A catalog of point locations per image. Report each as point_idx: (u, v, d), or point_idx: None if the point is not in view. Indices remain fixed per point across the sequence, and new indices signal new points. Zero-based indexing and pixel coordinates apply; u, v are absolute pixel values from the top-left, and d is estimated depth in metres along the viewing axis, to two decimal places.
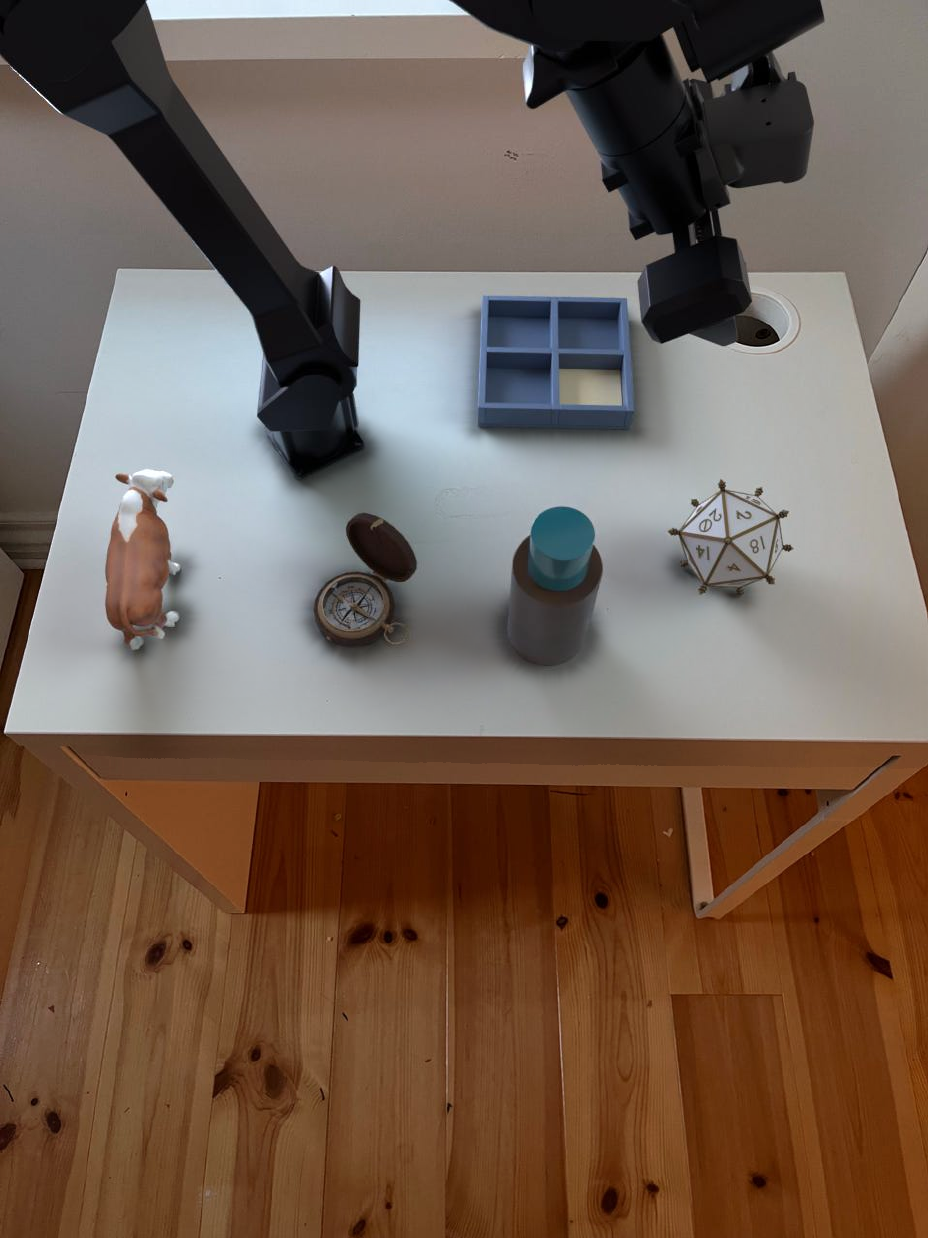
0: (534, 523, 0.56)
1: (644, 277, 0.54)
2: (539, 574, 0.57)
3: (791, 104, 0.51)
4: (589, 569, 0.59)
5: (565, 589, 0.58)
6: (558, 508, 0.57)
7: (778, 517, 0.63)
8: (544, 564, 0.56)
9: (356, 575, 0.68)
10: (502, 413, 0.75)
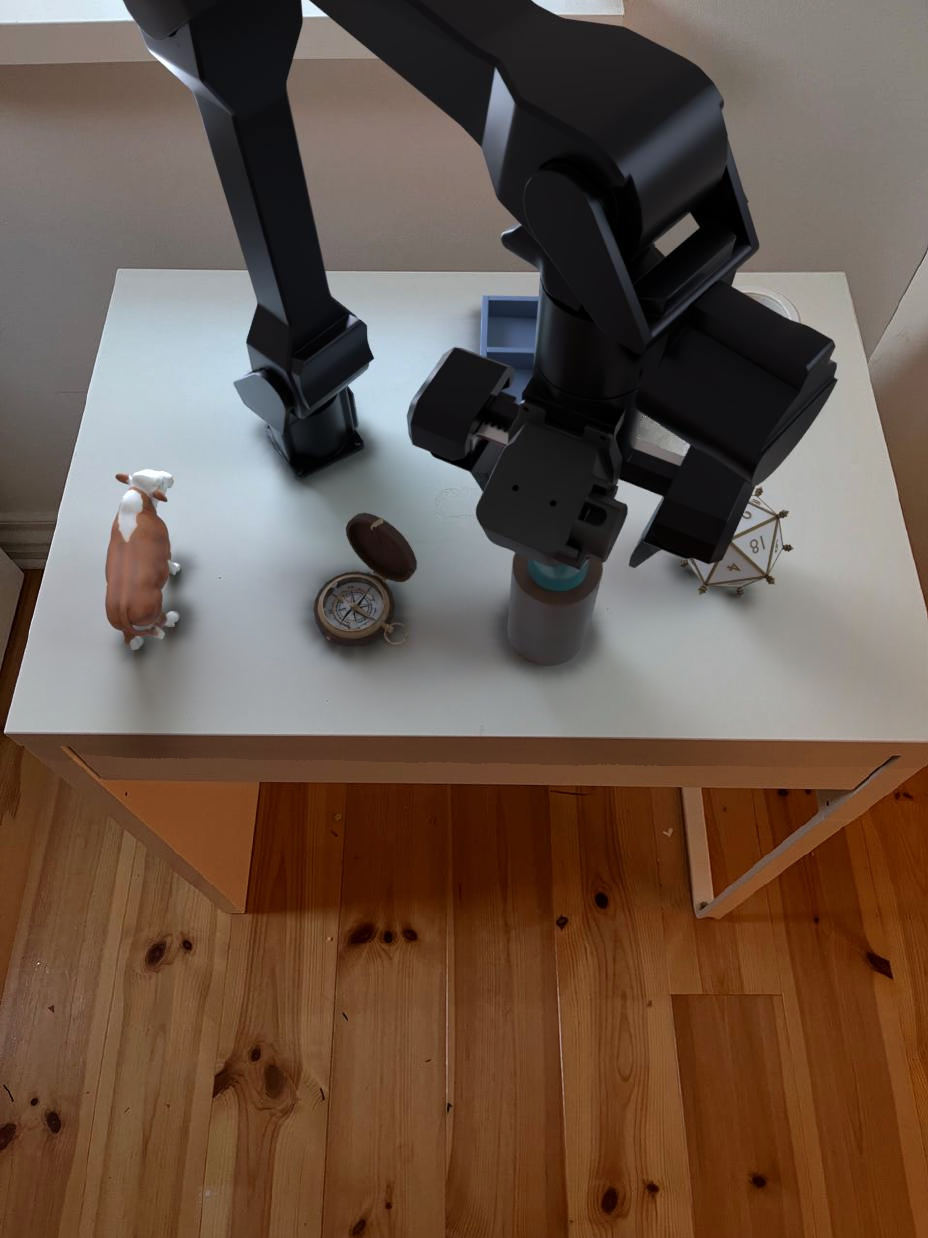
0: None
1: (498, 362, 0.50)
2: (539, 574, 0.57)
3: (526, 523, 0.43)
4: (589, 569, 0.59)
5: (565, 589, 0.58)
6: None
7: (778, 517, 0.63)
8: None
9: (356, 575, 0.68)
10: None
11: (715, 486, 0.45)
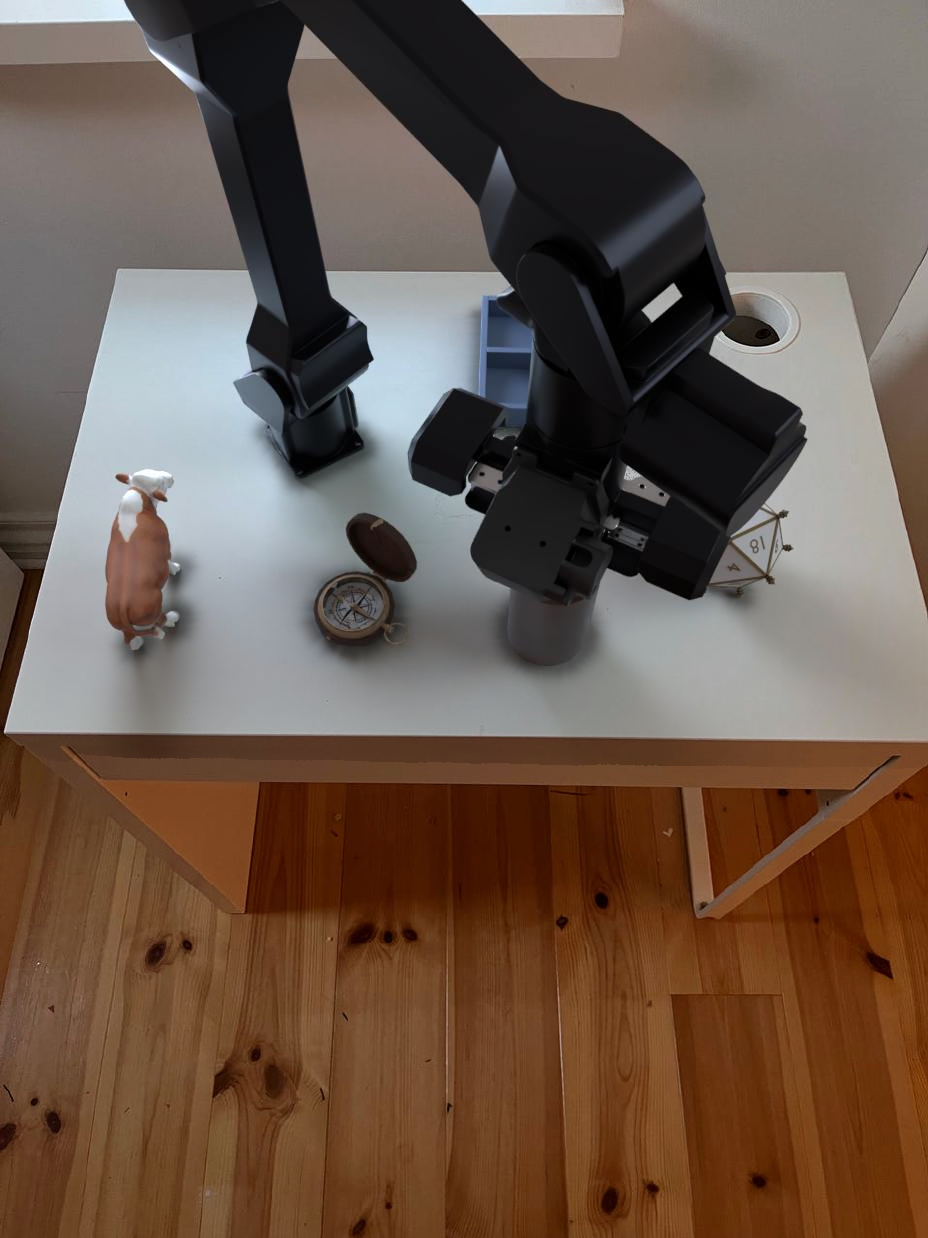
0: None
1: (494, 404, 0.53)
2: None
3: (517, 562, 0.46)
4: None
5: None
6: None
7: (778, 517, 0.63)
8: None
9: (356, 575, 0.68)
10: None
11: (696, 528, 0.48)
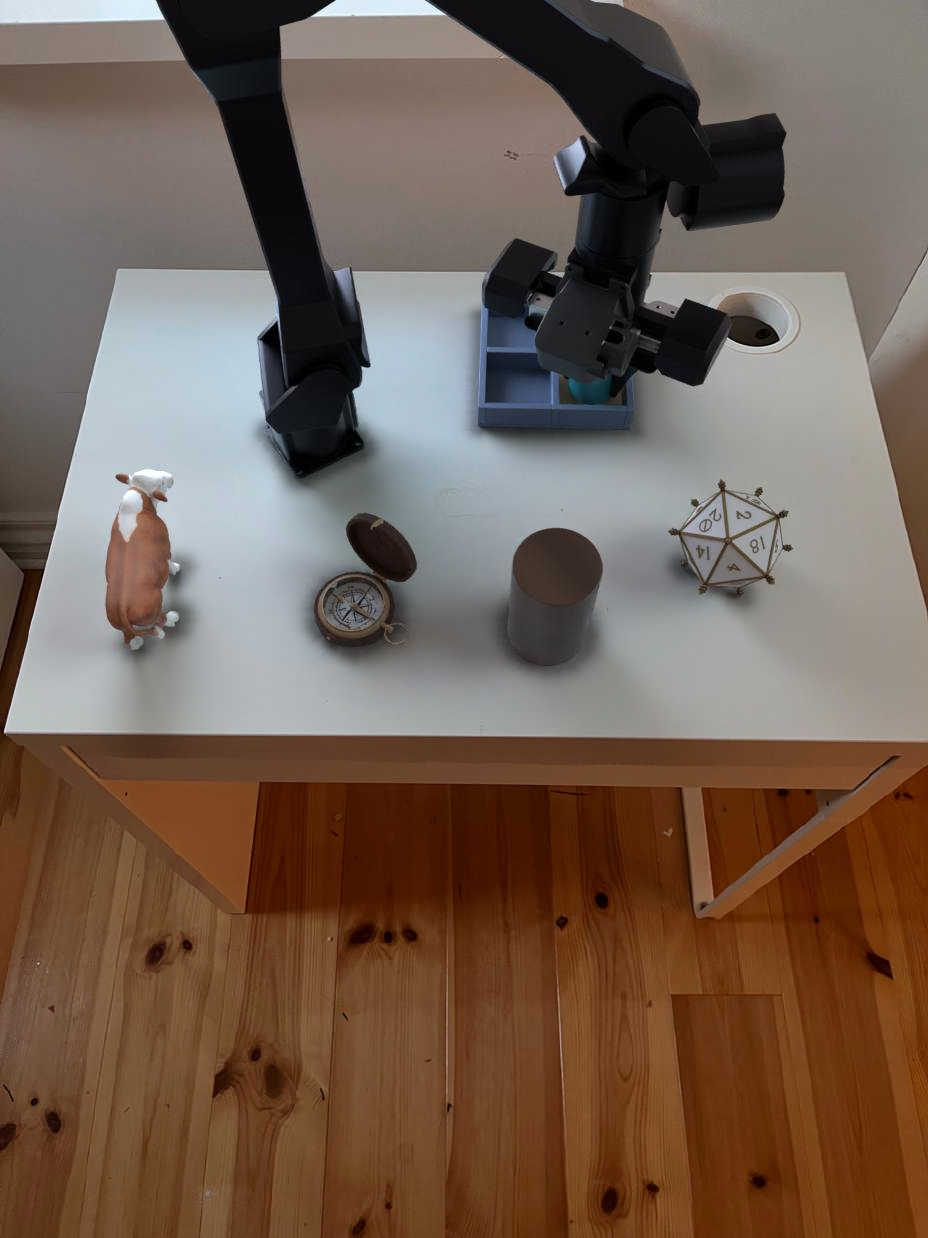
0: None
1: (547, 249, 0.70)
2: (577, 389, 0.75)
3: (568, 346, 0.63)
4: (589, 569, 0.59)
5: (597, 403, 0.76)
6: None
7: (778, 517, 0.63)
8: None
9: (356, 575, 0.68)
10: (502, 413, 0.75)
11: (698, 329, 0.66)
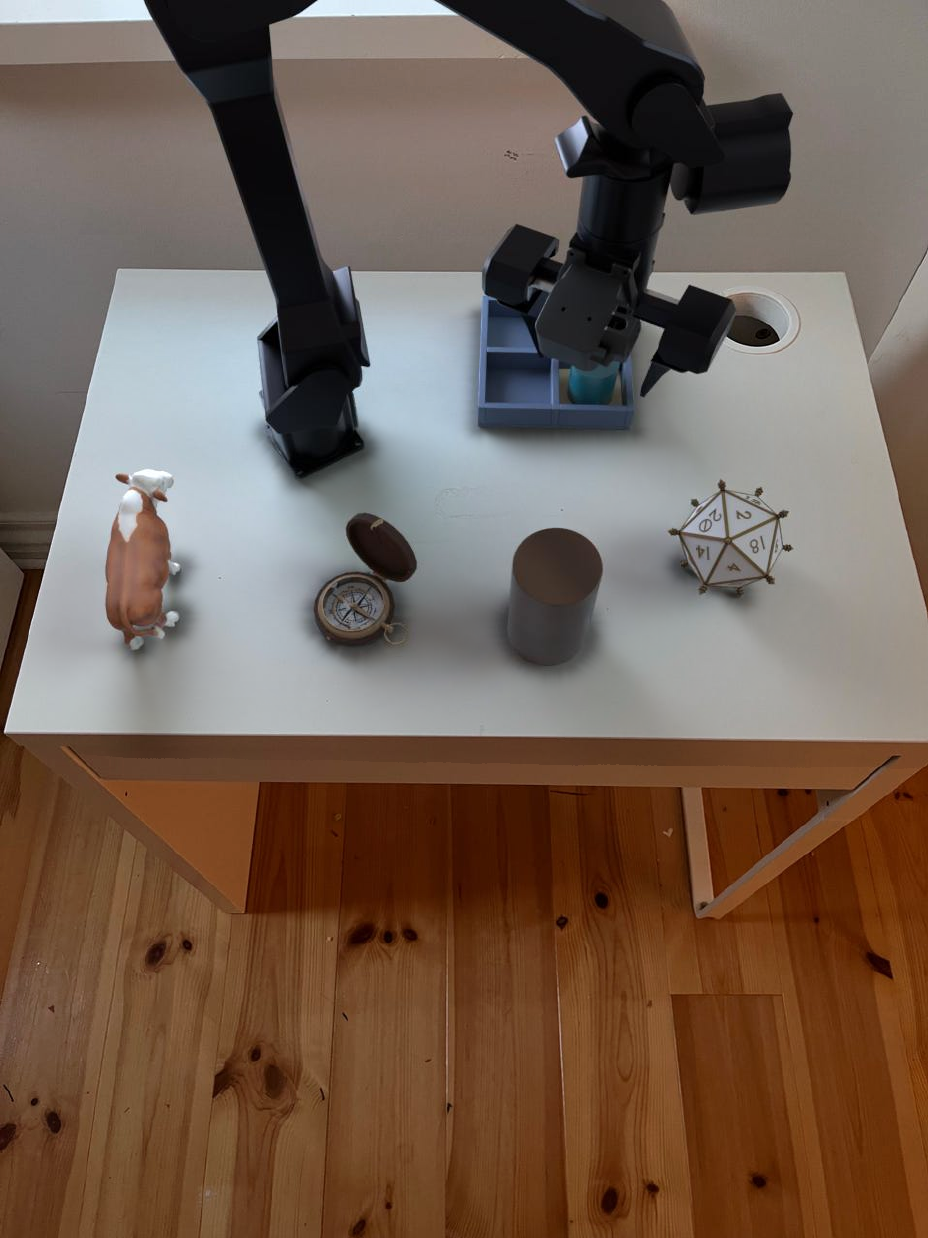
0: None
1: (548, 235, 0.69)
2: (576, 395, 0.76)
3: (570, 333, 0.62)
4: (589, 569, 0.59)
5: None
6: None
7: (778, 517, 0.63)
8: (581, 384, 0.74)
9: (356, 575, 0.68)
10: (502, 413, 0.75)
11: (702, 316, 0.65)
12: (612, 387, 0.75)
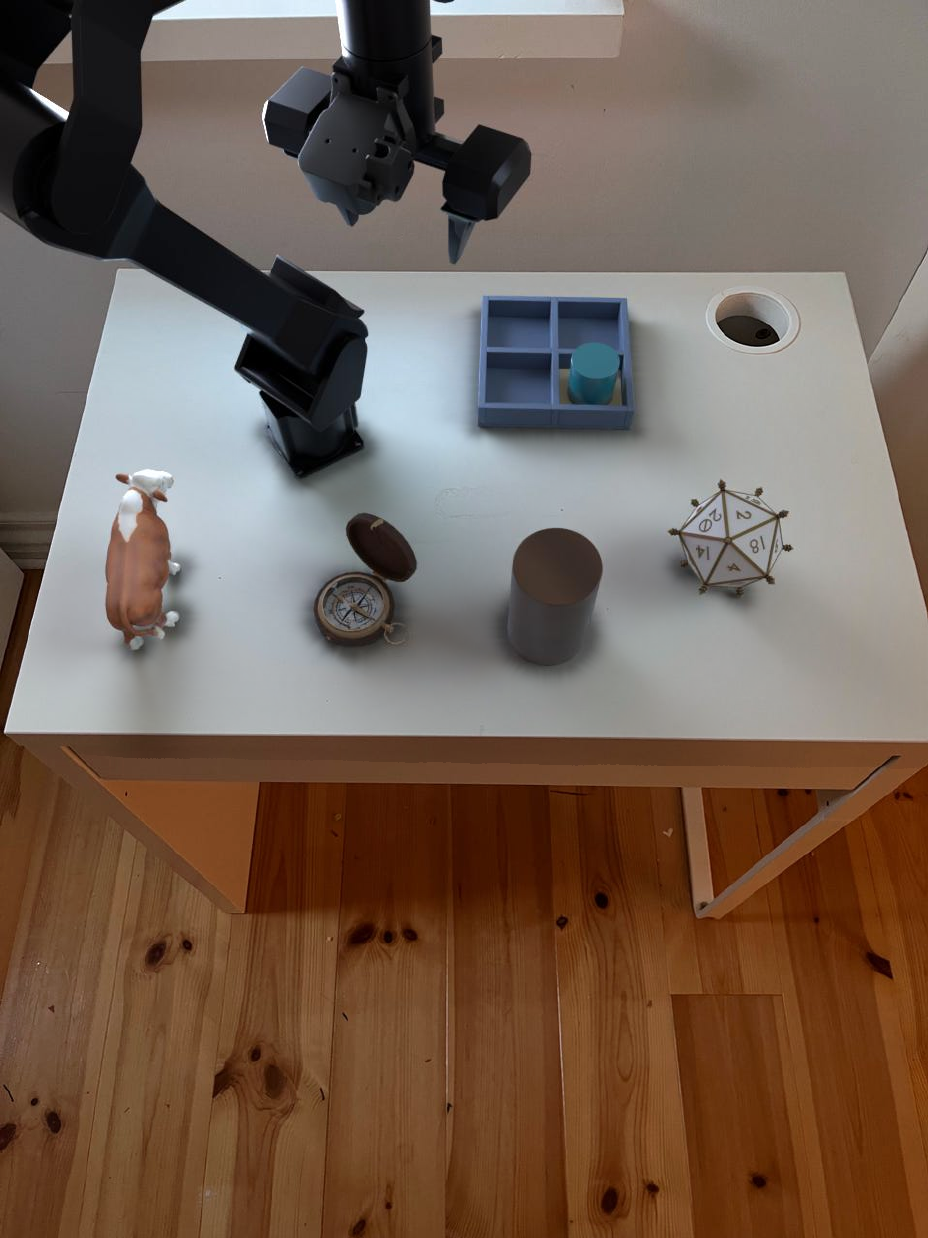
0: (573, 353, 0.74)
1: None
2: (576, 395, 0.76)
3: (334, 166, 0.57)
4: (589, 569, 0.59)
5: None
6: (591, 343, 0.75)
7: (778, 517, 0.63)
8: (581, 384, 0.74)
9: (356, 575, 0.68)
10: (502, 413, 0.75)
11: (488, 154, 0.59)
12: (612, 387, 0.75)
